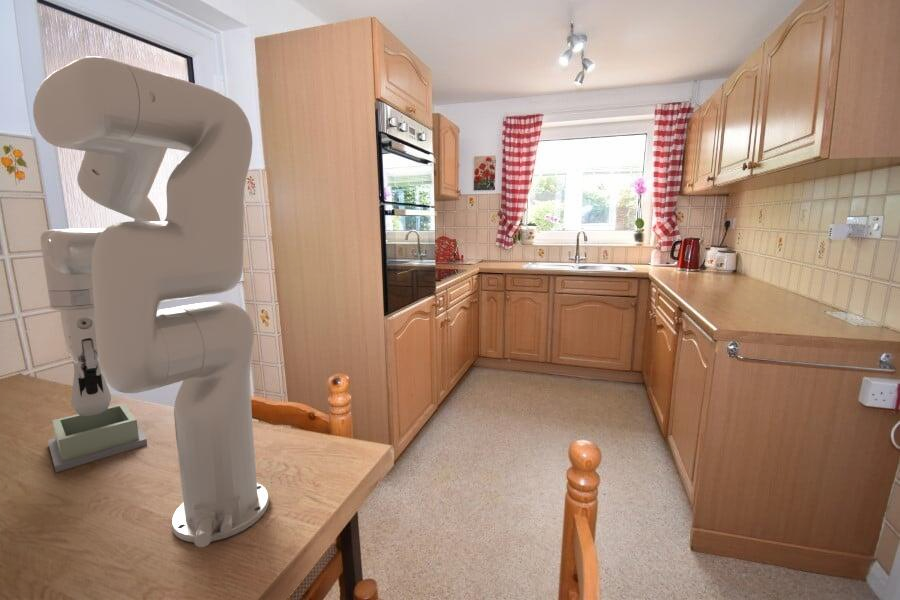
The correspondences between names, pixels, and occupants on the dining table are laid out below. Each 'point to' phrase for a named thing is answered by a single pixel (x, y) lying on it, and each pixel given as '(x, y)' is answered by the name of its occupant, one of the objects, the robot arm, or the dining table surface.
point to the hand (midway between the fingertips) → (90, 392)
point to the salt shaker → (89, 396)
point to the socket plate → (94, 437)
